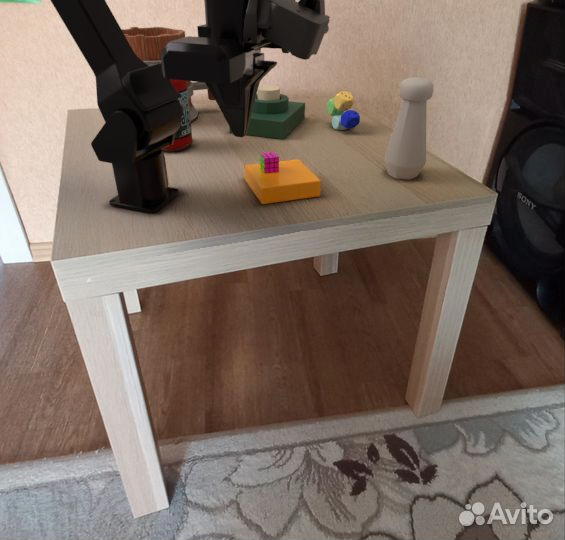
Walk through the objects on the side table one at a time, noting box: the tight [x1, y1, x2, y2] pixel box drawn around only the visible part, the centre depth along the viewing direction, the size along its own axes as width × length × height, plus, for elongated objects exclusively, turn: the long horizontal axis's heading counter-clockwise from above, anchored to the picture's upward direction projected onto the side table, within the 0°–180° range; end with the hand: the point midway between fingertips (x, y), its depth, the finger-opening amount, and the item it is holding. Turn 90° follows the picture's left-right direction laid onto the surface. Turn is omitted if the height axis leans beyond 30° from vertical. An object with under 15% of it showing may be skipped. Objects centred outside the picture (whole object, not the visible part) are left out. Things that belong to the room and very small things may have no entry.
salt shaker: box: [383, 76, 434, 181], centre depth 64 cm, size 6×6×13 cm
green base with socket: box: [228, 93, 306, 140], centre depth 85 cm, size 13×10×5 cm
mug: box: [121, 26, 216, 122], centre depth 86 cm, size 14×19×15 cm
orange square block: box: [244, 151, 322, 205], centre depth 62 cm, size 8×8×4 cm
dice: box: [326, 90, 361, 131], centre depth 83 cm, size 8×3×6 cm, turn 25°
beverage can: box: [148, 64, 193, 152], centre depth 73 cm, size 7×7×12 cm
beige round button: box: [257, 84, 281, 101], centre depth 83 cm, size 4×4×2 cm
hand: (240, 136), depth 50 cm, fingers closed
